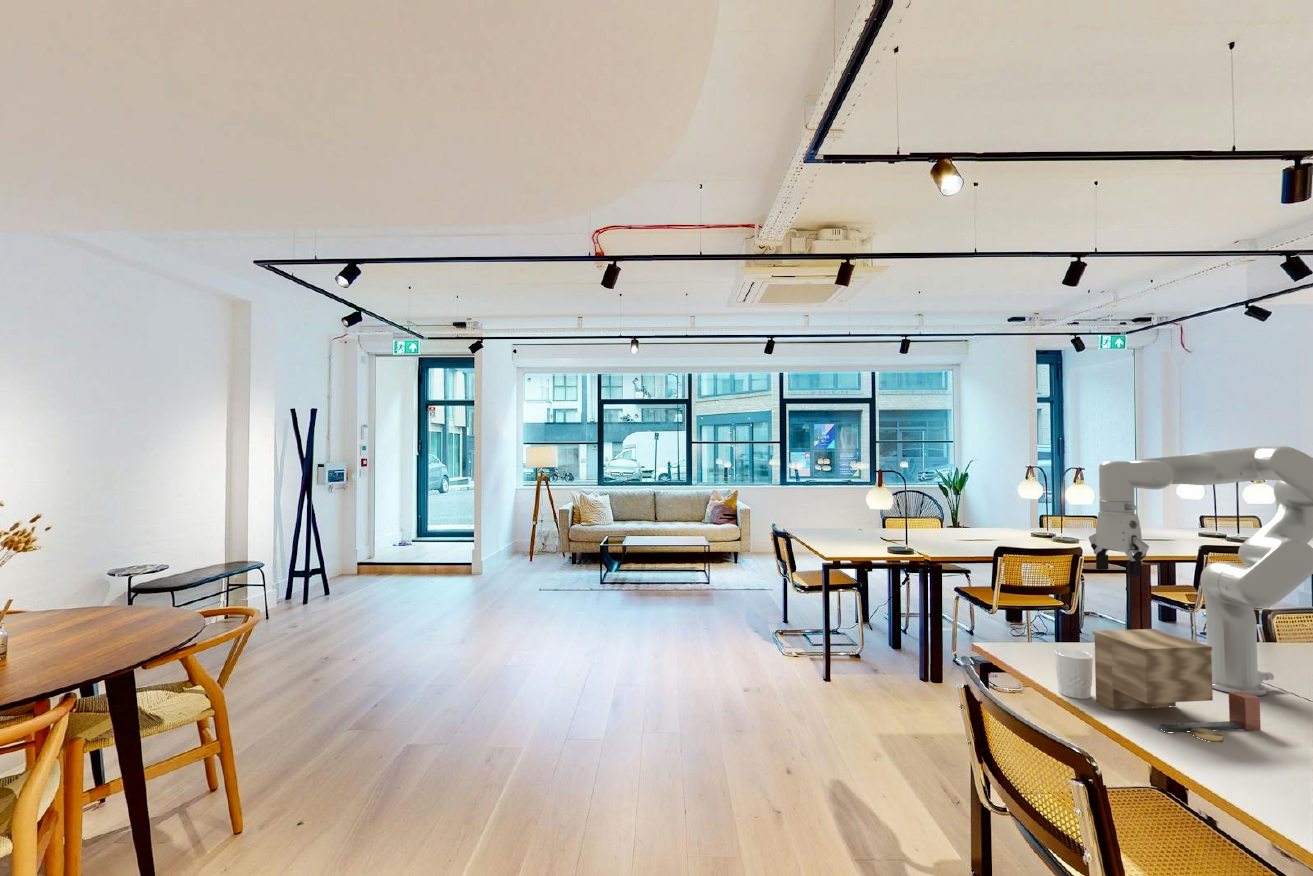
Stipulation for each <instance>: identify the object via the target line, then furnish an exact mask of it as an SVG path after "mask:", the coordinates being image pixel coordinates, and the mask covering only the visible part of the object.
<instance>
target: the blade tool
mask: <svg viewBox="0 0 1313 876" xmlns="http://www.w3.org/2000/svg"><path fill="white" fill-rule="evenodd" d="M1260 701H1261V699H1260V697H1259V696H1254V695H1251V694H1249V693H1246V692H1228V709H1229V711H1228V713H1229V714H1228V717H1229V718H1228V719H1229V720H1228V721H1227V720H1226V721H1207V722H1185V723H1167V724H1166V723H1165V724H1162V723H1161V724H1158V729H1159V728H1160V729H1162V730H1163V731H1162V730H1161V731H1162V732H1164V731H1165V732H1164V733H1166V732H1184V733H1188V732H1187V731H1191V729H1192V728H1204V729H1209V730H1224V731H1238V729H1243V730H1242V731H1245V732H1256V731H1257V732H1259V731H1262V730H1261V703H1260Z"/></svg>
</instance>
